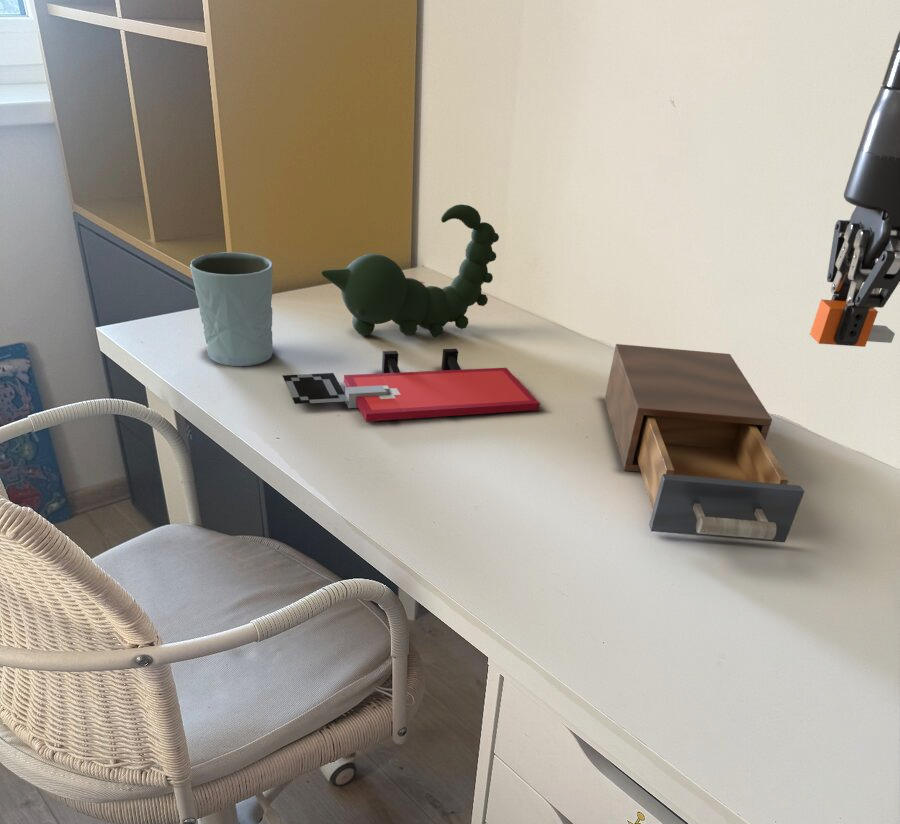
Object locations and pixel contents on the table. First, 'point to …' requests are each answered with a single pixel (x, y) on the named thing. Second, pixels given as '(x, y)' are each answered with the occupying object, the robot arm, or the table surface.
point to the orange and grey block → (829, 321)
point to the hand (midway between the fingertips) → (838, 337)
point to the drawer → (714, 480)
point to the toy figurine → (417, 285)
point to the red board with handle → (417, 390)
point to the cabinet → (676, 392)
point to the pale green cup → (235, 306)
